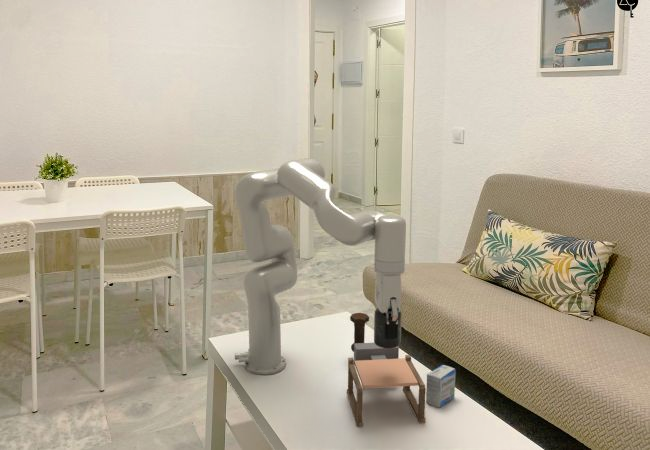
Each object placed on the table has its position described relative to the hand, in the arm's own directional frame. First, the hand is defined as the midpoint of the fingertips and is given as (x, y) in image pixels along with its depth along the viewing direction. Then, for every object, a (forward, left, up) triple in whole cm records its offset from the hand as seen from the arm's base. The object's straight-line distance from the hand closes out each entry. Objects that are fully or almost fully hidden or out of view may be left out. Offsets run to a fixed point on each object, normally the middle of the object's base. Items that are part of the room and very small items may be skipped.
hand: (387, 331), depth 152 cm
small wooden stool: (0, +2, -22) cm, 22 cm away
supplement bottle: (0, 0, -3) cm, 3 cm away
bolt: (-2, +30, -23) cm, 38 cm away
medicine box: (+16, +4, -23) cm, 28 cm away
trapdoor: (0, +5, -15) cm, 16 cm away
